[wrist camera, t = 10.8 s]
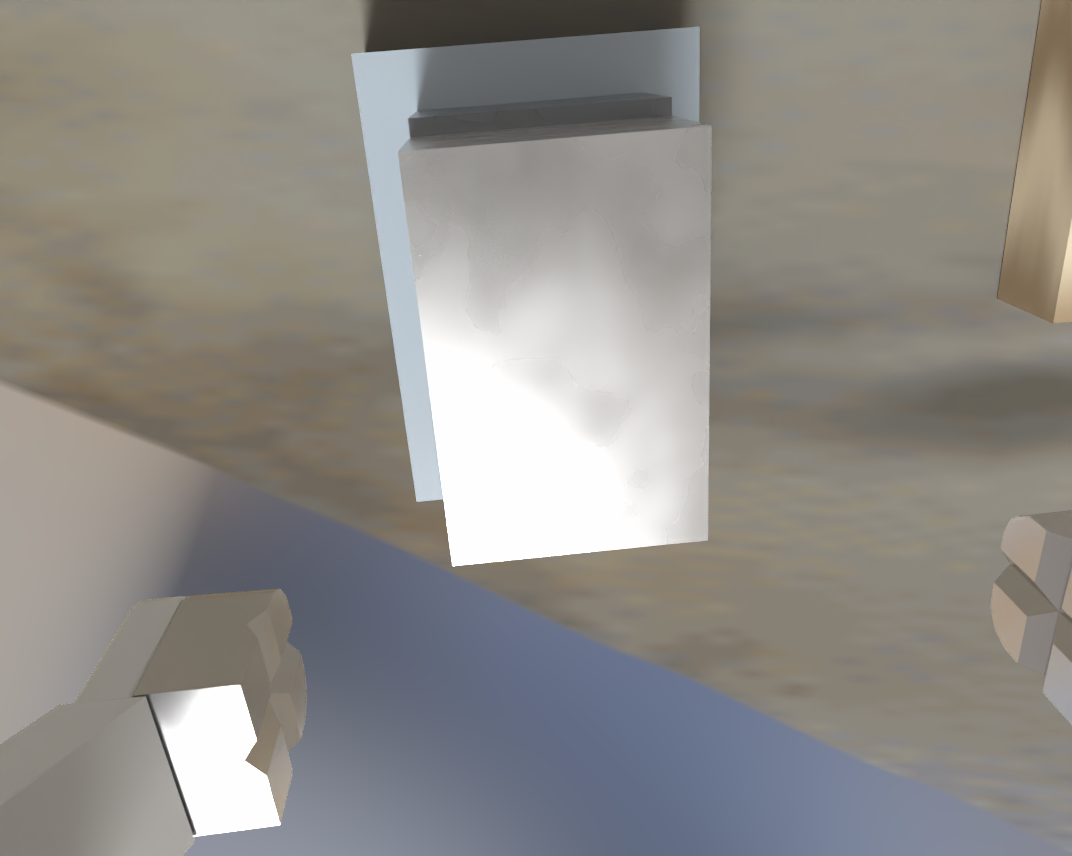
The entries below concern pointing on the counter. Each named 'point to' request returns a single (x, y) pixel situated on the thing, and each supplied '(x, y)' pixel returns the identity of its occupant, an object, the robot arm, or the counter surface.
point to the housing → (564, 321)
